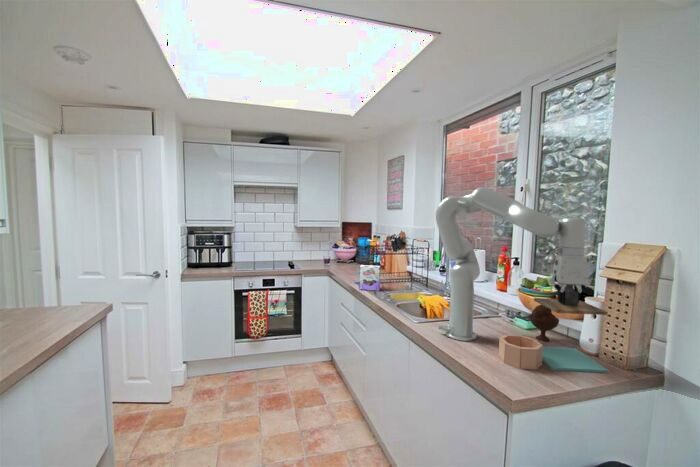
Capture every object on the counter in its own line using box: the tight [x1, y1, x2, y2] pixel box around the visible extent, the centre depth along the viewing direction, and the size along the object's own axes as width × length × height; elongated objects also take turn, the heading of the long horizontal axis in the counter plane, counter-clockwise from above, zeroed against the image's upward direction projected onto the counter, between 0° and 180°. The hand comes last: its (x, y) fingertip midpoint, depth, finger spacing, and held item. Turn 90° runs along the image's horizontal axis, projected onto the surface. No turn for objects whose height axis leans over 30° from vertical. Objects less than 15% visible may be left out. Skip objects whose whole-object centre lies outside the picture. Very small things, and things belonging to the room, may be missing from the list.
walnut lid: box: [533, 288, 609, 316], centre depth 116 cm, size 16×16×6 cm
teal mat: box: [542, 346, 609, 374], centre depth 118 cm, size 18×18×1 cm
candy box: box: [358, 264, 381, 292], centre depth 220 cm, size 14×6×16 cm, turn 80°
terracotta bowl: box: [498, 334, 544, 370], centre depth 116 cm, size 13×13×7 cm
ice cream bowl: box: [529, 304, 560, 343], centre depth 136 cm, size 11×11×15 cm
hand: (568, 302), depth 117 cm, fingers closed on walnut lid, 4 cm apart
